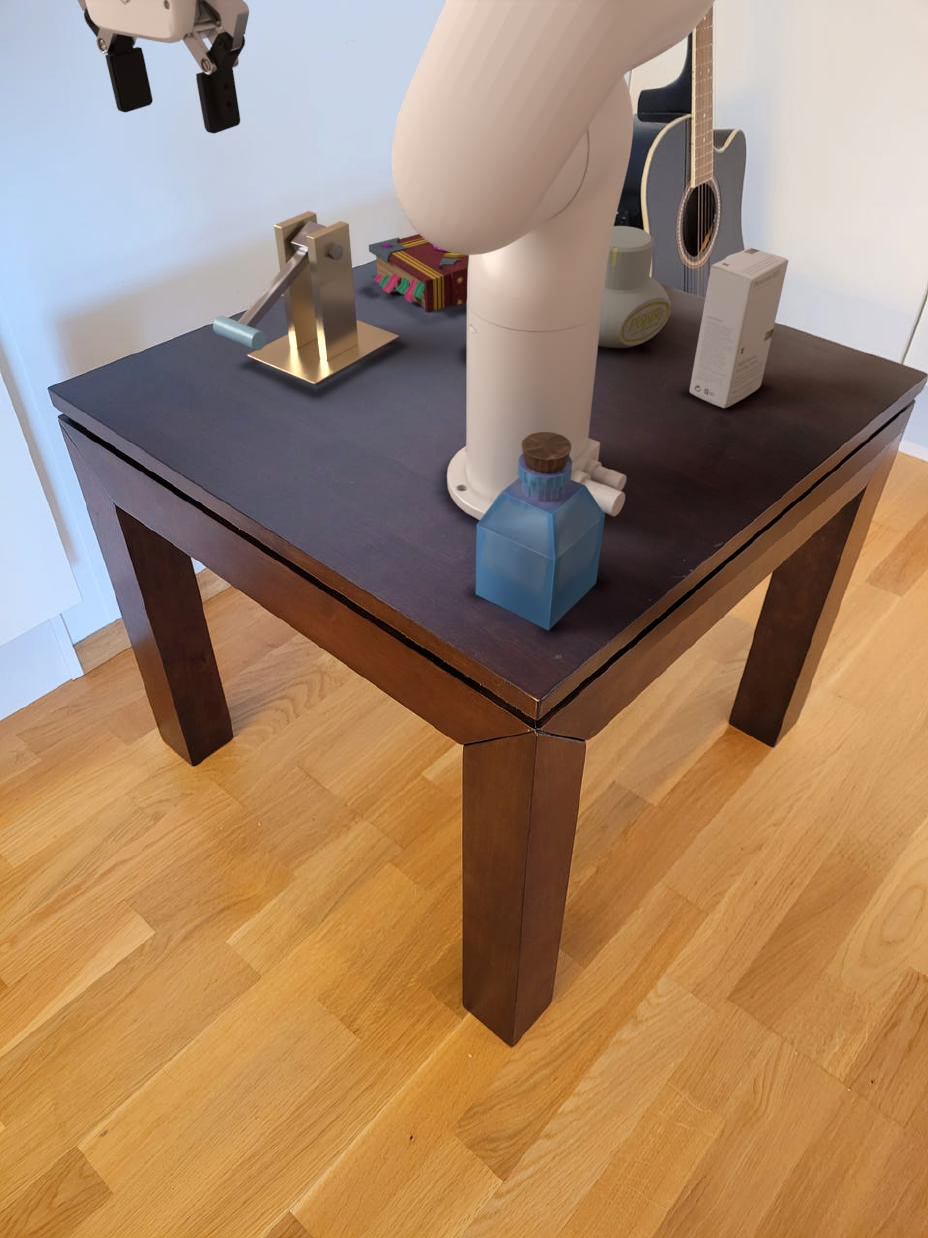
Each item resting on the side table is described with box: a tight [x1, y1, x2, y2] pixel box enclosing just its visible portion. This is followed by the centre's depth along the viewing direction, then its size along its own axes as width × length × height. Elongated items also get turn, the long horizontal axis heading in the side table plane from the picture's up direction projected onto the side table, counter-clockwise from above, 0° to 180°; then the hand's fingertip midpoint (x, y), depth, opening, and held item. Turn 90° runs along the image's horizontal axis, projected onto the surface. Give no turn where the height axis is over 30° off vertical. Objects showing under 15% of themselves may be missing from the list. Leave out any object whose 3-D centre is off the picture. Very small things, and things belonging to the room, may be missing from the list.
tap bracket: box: [246, 210, 400, 387], centre depth 89 cm, size 12×9×13 cm
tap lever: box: [212, 221, 327, 351], centre depth 84 cm, size 13×5×2 cm, turn 143°
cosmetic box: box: [689, 247, 789, 409], centre depth 84 cm, size 6×4×12 cm
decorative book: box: [368, 233, 469, 313], centre depth 103 cm, size 11×16×5 cm
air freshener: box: [598, 225, 672, 349], centre depth 93 cm, size 11×8×10 cm
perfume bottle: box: [475, 432, 606, 632], centre depth 64 cm, size 6×6×12 cm
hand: (178, 117), depth 74 cm, fingers open, 9 cm apart
